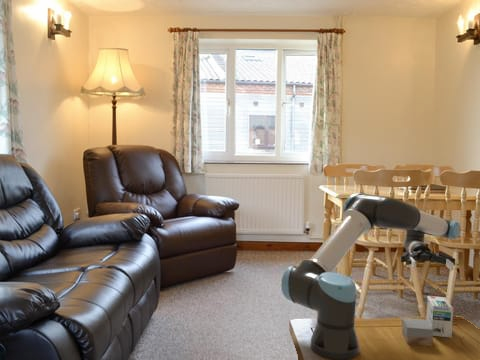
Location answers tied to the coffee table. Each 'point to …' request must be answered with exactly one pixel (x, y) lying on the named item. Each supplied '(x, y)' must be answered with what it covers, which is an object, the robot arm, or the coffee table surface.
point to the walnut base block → (417, 340)
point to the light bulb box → (439, 316)
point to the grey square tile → (417, 328)
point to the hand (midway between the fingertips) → (433, 266)
